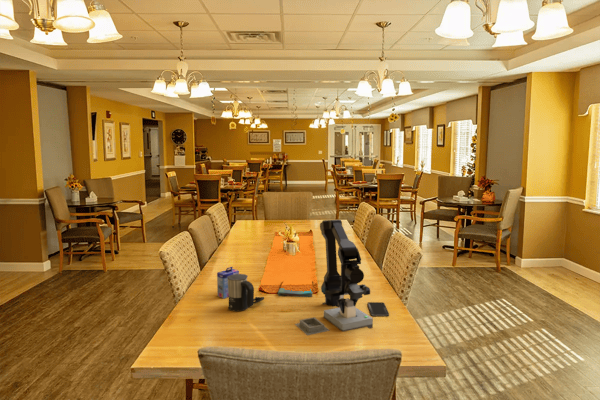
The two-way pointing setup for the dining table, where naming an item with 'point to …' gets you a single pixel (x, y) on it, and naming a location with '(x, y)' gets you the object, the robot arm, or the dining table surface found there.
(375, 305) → the phone
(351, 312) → the plug
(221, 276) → the ink cartridge box
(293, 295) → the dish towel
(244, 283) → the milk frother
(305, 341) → the dining table surface
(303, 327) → the holster
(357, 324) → the port
